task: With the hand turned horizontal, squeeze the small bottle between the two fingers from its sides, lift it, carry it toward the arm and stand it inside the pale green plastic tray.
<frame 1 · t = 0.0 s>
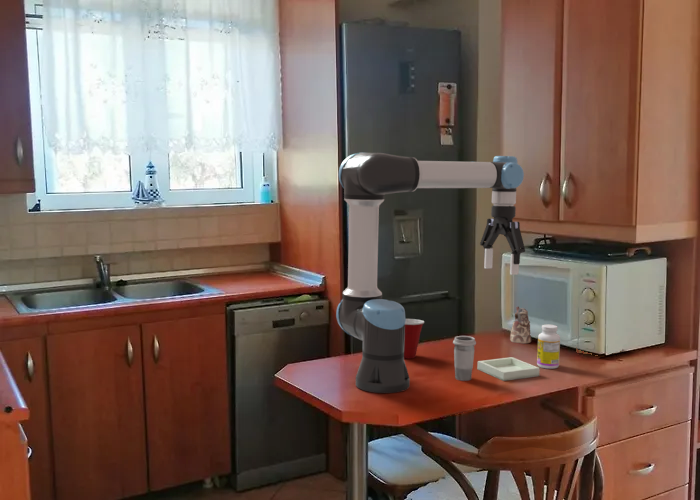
hand: (500, 271, 241), 28 cm above the counter, tool pointing down, fingers open, 13 cm apart
figurine: (520, 341, 266), on the counter
plastic cup: (406, 356, 243), on the counter
tray: (507, 372, 226), on the counter
cup: (463, 379, 219), on the counter
carton: (599, 354, 252), on the counter
supplement bottle: (547, 367, 234), on the counter
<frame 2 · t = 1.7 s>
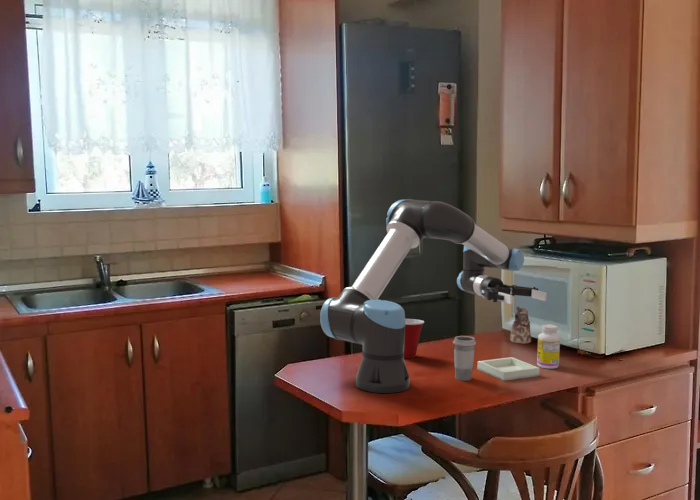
hand: (528, 298, 241), 20 cm above the counter, tool horizontal, fingers open, 13 cm apart
nothing on the counter moved.
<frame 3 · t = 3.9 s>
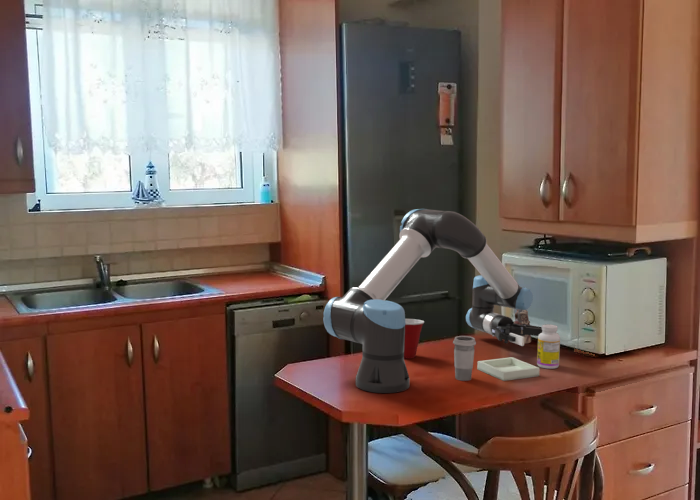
hand: (540, 339, 237), 7 cm above the counter, tool horizontal, fingers open, 13 cm apart
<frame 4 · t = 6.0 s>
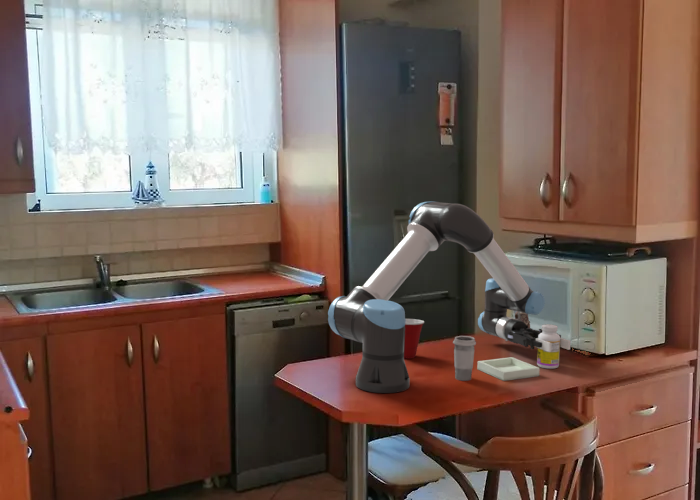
hand: (559, 346, 228), 8 cm above the counter, tool horizontal, fingers closed on supplement bottle, 7 cm apart
supplement bottle: (547, 366, 234), on the counter, touching gripper
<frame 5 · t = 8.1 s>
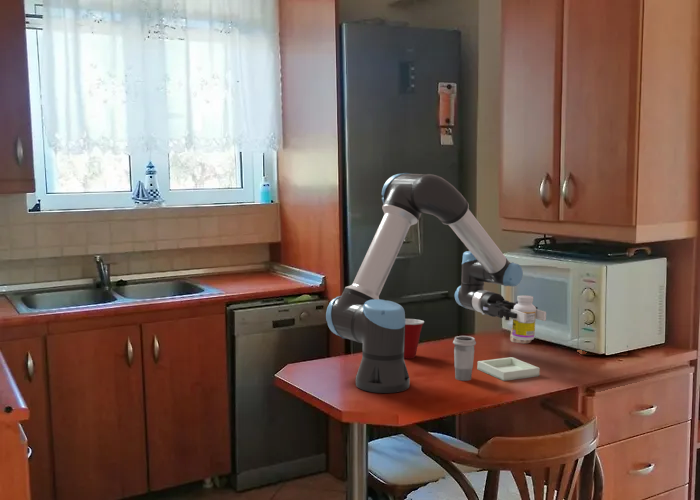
hand: (535, 317, 222), 17 cm above the counter, tool horizontal, fingers closed on supplement bottle, 7 cm apart
supplement bottle: (523, 339, 227), point 10 cm above the counter, touching gripper
when the fingers open (9 cm above the counter, at t = 10.4 s): supplement bottle drops 1 cm, resting on tray.
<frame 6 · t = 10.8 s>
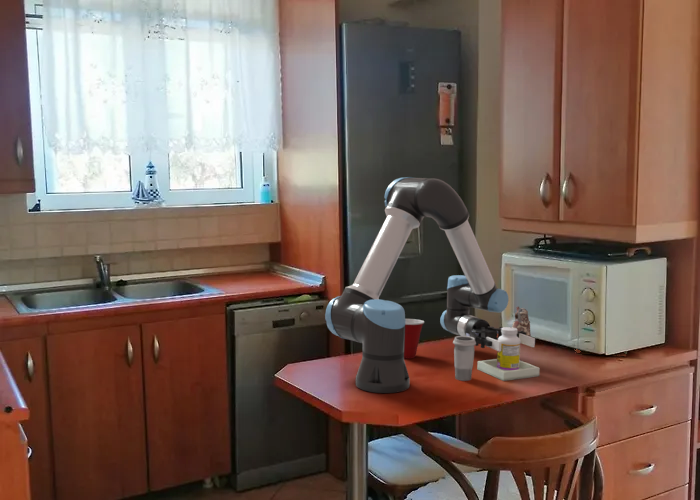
hand: (517, 344, 221), 9 cm above the counter, tool horizontal, fingers open, 11 cm apart
supplement bottle: (507, 371, 226), resting on tray
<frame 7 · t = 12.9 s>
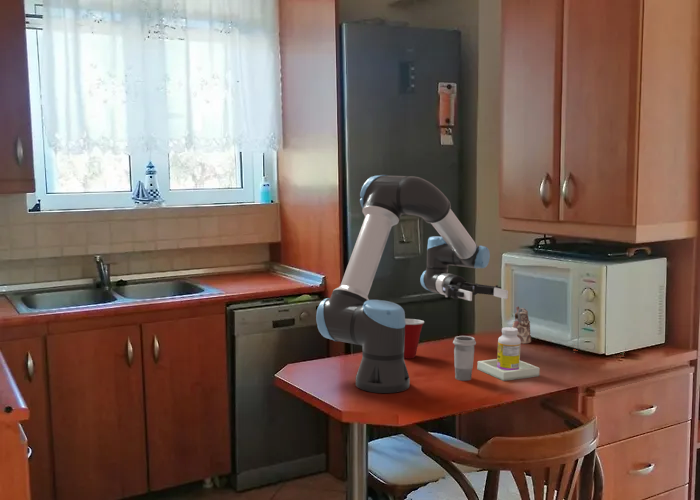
hand: (489, 295, 233), 21 cm above the counter, tool horizontal, fingers open, 13 cm apart
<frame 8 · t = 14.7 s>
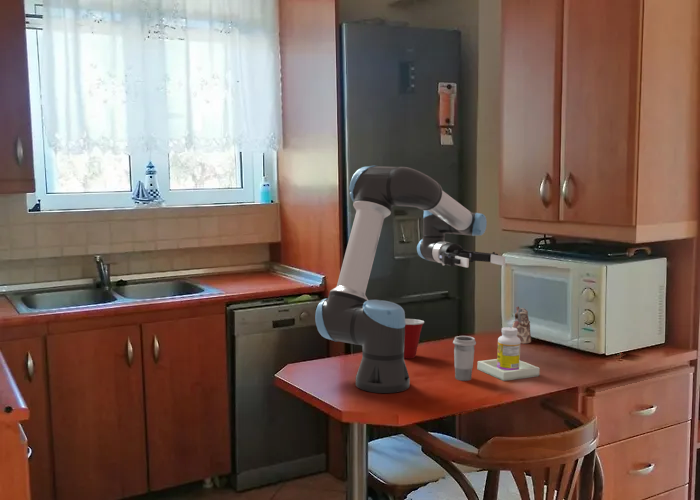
hand: (486, 262, 232), 32 cm above the counter, tool horizontal, fingers open, 13 cm apart
at the end: supplement bottle inside the target area on the tray (0.0 cm from its centre), point 0.4 cm above the tray's base; supplement bottle tilted 0°; the gripper is holding nothing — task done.
